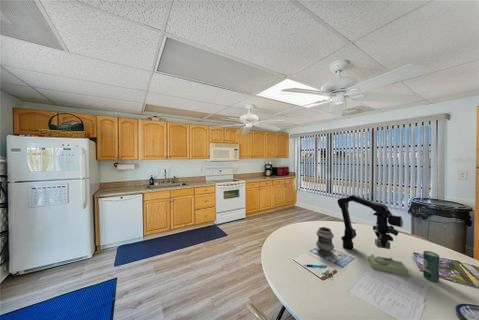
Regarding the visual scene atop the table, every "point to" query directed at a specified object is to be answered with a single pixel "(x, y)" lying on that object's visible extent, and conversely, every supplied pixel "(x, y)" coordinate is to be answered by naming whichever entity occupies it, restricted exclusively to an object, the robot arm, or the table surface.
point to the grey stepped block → (378, 244)
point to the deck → (387, 265)
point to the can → (431, 266)
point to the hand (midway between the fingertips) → (382, 245)
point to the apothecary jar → (325, 241)
